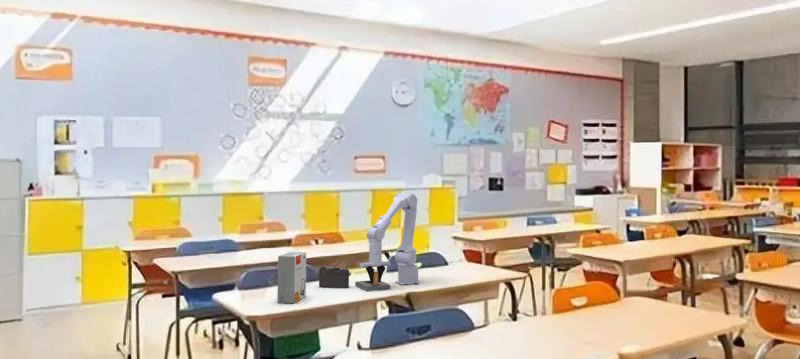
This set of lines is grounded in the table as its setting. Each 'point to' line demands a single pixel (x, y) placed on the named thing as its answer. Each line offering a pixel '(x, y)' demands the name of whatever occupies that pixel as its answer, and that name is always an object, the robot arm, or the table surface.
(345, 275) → the camera
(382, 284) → the keyhole plate
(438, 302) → the table surface
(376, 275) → the peg
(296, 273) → the hard drive box
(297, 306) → the table surface
